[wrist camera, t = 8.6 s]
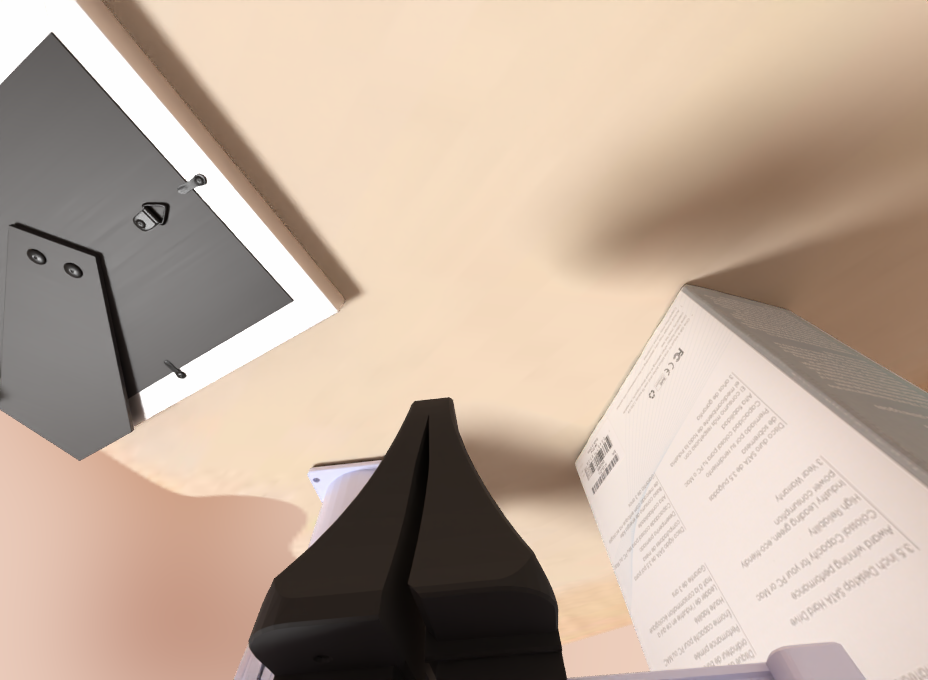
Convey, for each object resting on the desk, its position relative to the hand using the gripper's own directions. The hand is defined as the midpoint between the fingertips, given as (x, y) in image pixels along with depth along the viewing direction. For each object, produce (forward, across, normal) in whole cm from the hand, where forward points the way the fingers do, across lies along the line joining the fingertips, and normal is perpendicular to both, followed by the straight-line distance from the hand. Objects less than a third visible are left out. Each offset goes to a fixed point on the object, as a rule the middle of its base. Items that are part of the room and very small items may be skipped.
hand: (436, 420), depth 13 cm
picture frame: (+10, +18, -4) cm, 21 cm away
